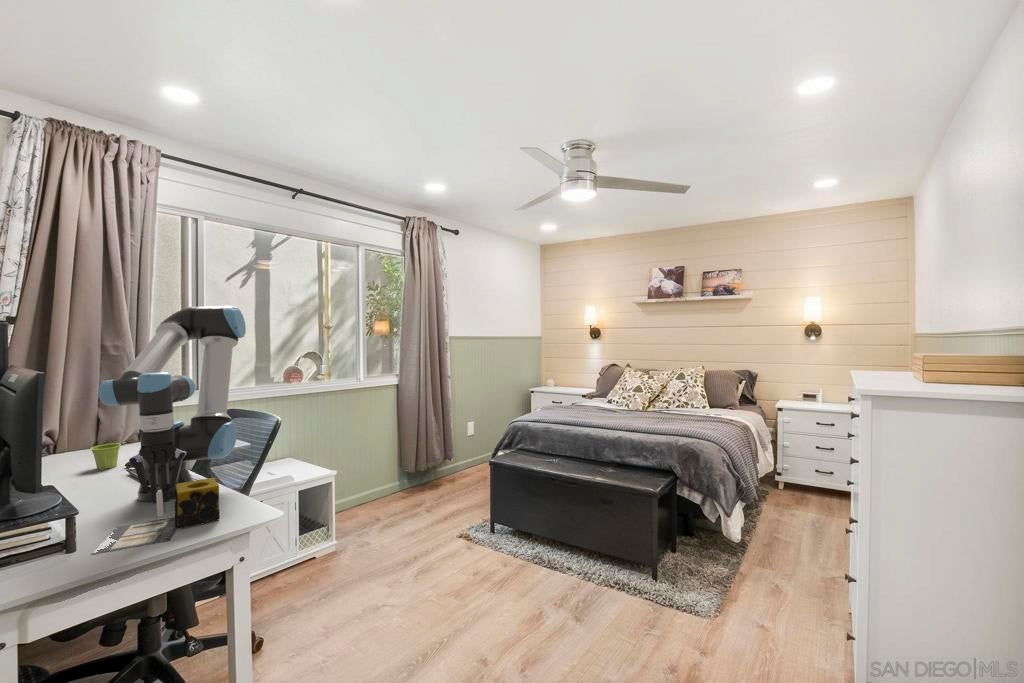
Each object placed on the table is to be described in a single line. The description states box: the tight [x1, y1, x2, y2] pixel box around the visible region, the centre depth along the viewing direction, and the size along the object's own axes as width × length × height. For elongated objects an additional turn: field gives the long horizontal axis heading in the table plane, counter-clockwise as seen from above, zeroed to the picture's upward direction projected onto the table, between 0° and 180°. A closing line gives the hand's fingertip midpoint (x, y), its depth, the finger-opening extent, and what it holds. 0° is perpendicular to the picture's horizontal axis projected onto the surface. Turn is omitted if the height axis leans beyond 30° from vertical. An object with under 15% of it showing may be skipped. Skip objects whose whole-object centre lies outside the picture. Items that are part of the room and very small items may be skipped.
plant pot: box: [90, 442, 122, 471], centre depth 195 cm, size 9×9×9 cm
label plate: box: [96, 516, 178, 554], centre depth 129 cm, size 18×16×1 cm
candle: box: [174, 477, 221, 530], centre depth 137 cm, size 10×10×10 cm
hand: (161, 514), depth 134 cm, fingers closed
